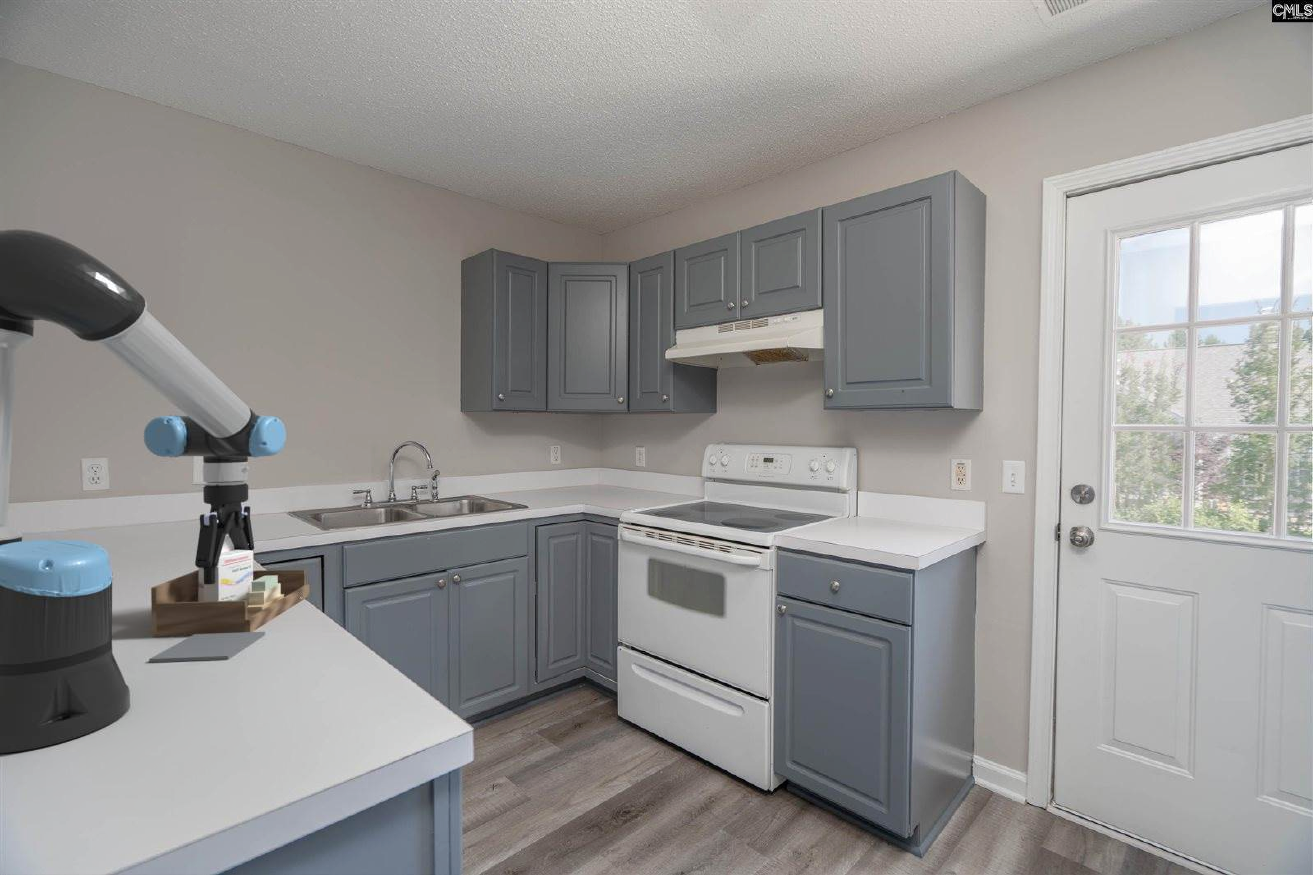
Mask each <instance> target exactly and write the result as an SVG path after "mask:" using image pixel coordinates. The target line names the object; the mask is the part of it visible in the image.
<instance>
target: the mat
mask: <svg viewBox="0 0 1313 875" xmlns="http://www.w3.org/2000/svg"><path fill="white" fill-rule="evenodd" d="M265 635H266V631H253V632H242V633H214V634H194V635H189V637H187V638H185V639H183V640H181V641H179V642H178V643H176V644H174V645H173V646H171V647H169V648H166V649H165V650H163V651H160V652H159V653H157V654H156V655H154V656H152V657H150V658H149V659H148V662H149V663H150V664H151V663H172V662H173V663H174V662H175V663H176V662H198V661H221V660H222V661H225V660H230V659H231V658H232V657H234V656H236V655H237V654H239V653H240V652H241V651H244V650H245V649H246V648H248V647H249V646H250V645H252V644H254V643H255V642H257V641H258V640H260V639H261V638H263V637H264V636H265Z"/></svg>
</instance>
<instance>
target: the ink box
mask: <svg viewBox="0 0 1313 875" xmlns="http://www.w3.org/2000/svg"><path fill="white" fill-rule="evenodd" d="M217 566H221V599H220V600H204V569H203V568H198V570H199V575H198V577H199V578H198V579H199V581H198V586H199V587H198V602H206V601H240V600H247V606H249V592H251V591H252V583H251V582H252V581H253V571H254V553H253V551H251V550H234V545H233V543H232V541H231V538H230V537H229V535H228V536H225V539H224V543H223V547H222V551H221V554H220V558H219V562H218V565H217Z"/></svg>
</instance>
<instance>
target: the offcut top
mask: <svg viewBox="0 0 1313 875" xmlns="http://www.w3.org/2000/svg"><path fill="white" fill-rule="evenodd" d="M251 583H252V592H259V591H267V590H269V589H271V588H273V587H275V586H277V585H278V575H274V576H263V577H261V578H259V579H256V580H254V581H252V582H251Z"/></svg>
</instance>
